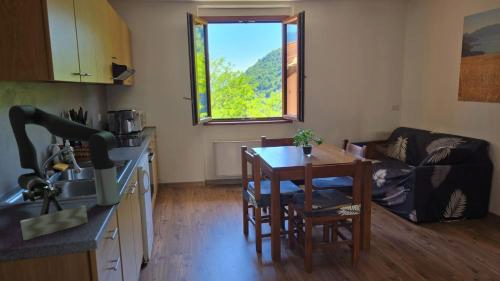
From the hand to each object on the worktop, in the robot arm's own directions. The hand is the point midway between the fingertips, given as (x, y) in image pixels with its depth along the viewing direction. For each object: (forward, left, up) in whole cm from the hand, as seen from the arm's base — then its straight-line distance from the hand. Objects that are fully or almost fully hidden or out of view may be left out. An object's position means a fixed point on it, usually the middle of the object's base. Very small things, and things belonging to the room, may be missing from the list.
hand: (45, 197), depth 142 cm
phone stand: (0, +8, -8) cm, 11 cm away
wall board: (0, +7, -10) cm, 12 cm away
